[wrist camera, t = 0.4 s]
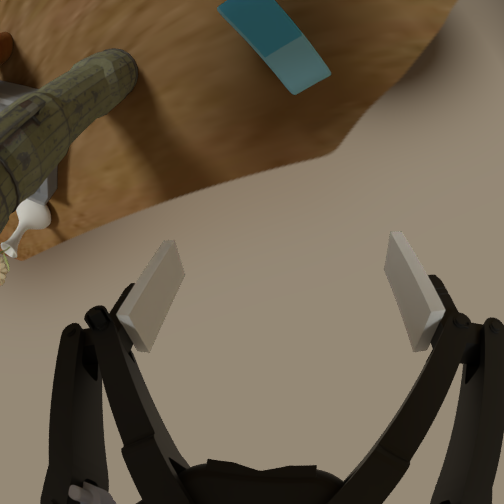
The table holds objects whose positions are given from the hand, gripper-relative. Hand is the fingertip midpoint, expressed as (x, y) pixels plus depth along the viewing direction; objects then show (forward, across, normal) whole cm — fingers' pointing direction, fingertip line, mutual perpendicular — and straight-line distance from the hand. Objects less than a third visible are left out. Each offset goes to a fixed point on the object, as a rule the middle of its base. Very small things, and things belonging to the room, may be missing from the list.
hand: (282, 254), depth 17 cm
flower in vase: (+28, -57, -2) cm, 64 cm away
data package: (+24, 0, +18) cm, 30 cm away
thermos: (+23, -23, +17) cm, 37 cm away
